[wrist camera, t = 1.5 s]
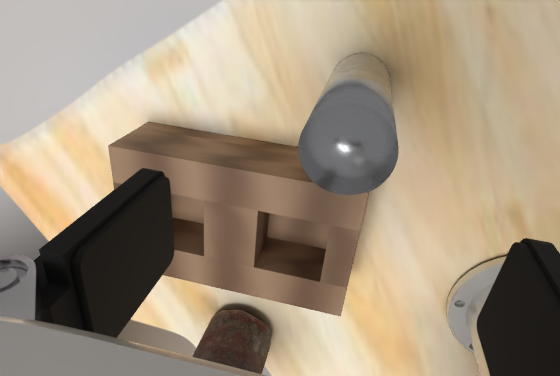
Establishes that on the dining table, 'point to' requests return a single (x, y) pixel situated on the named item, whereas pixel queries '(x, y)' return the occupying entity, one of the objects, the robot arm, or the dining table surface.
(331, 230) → the hole block
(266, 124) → the dining table surface
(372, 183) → the pin
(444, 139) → the dining table surface
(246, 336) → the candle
